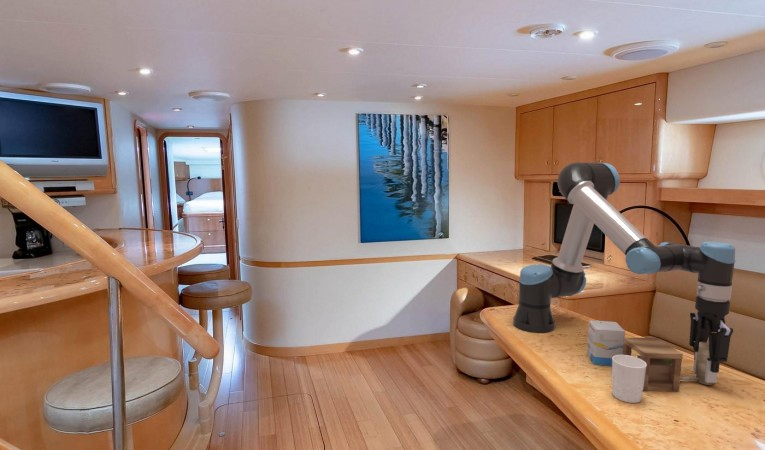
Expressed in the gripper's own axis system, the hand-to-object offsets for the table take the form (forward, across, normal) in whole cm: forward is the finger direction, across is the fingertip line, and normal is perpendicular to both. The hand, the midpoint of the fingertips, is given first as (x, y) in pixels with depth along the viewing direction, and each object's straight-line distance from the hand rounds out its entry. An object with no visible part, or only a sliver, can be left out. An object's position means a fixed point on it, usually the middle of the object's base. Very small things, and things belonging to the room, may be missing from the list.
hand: (704, 377), depth 121 cm
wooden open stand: (+2, 0, -16) cm, 16 cm away
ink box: (+2, -14, -22) cm, 26 cm away
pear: (+2, -15, -3) cm, 16 cm away
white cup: (+2, +9, -26) cm, 28 cm away
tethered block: (+1, 0, -8) cm, 8 cm away
